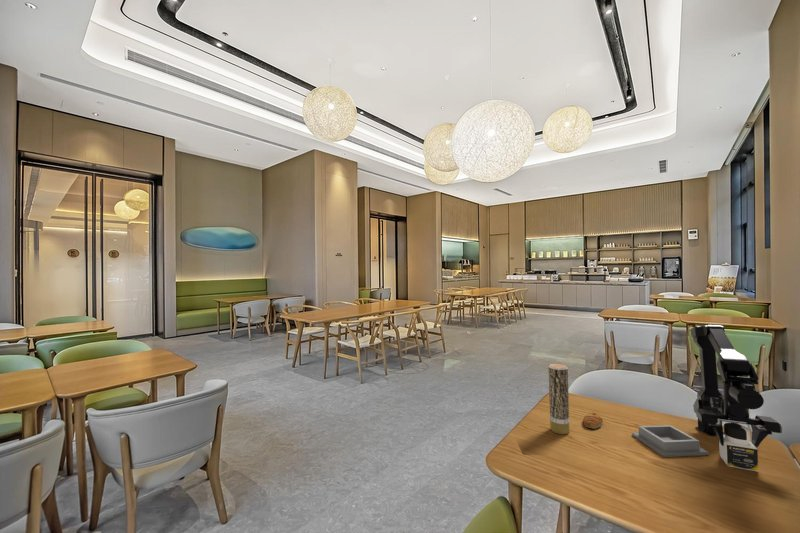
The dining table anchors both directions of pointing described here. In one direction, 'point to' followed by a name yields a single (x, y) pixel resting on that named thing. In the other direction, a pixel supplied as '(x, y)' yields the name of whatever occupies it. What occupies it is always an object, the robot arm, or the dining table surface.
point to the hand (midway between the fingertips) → (737, 447)
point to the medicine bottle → (738, 447)
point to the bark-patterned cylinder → (559, 398)
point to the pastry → (592, 421)
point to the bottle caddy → (669, 441)
